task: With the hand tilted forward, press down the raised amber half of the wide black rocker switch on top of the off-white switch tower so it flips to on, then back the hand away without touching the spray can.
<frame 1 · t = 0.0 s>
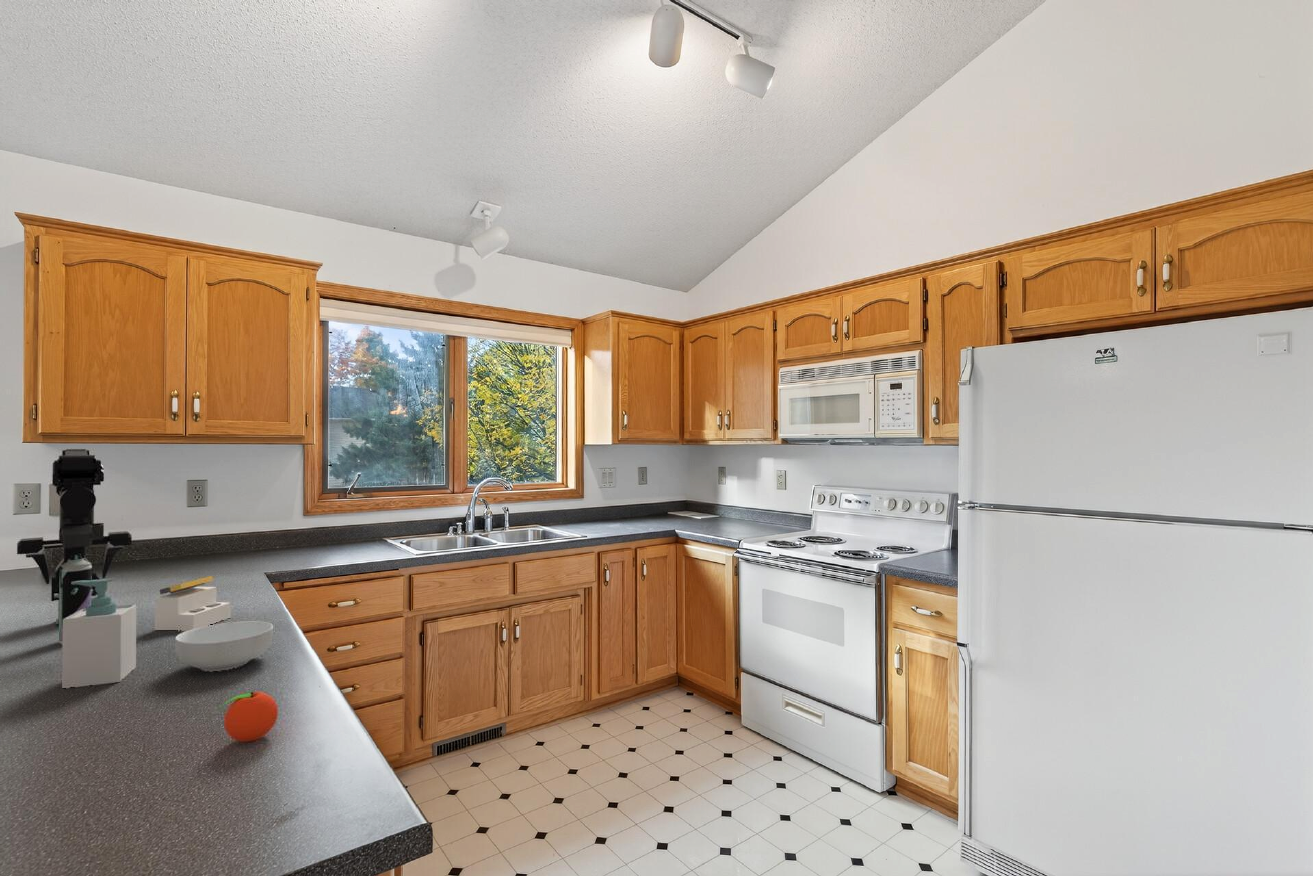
hand: (76, 580, 142), 15 cm above the counter, tool pointing down, fingers open, 9 cm apart
cereal bowl: (225, 666, 130), on the counter
clementine: (247, 741, 96), on the counter
soap bottle: (99, 679, 122), on the counter
spray can: (75, 641, 146), on the counter
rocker: (187, 585, 160), point 10 cm above the counter, hinge at -15.0°
switch tower: (194, 624, 160), on the counter
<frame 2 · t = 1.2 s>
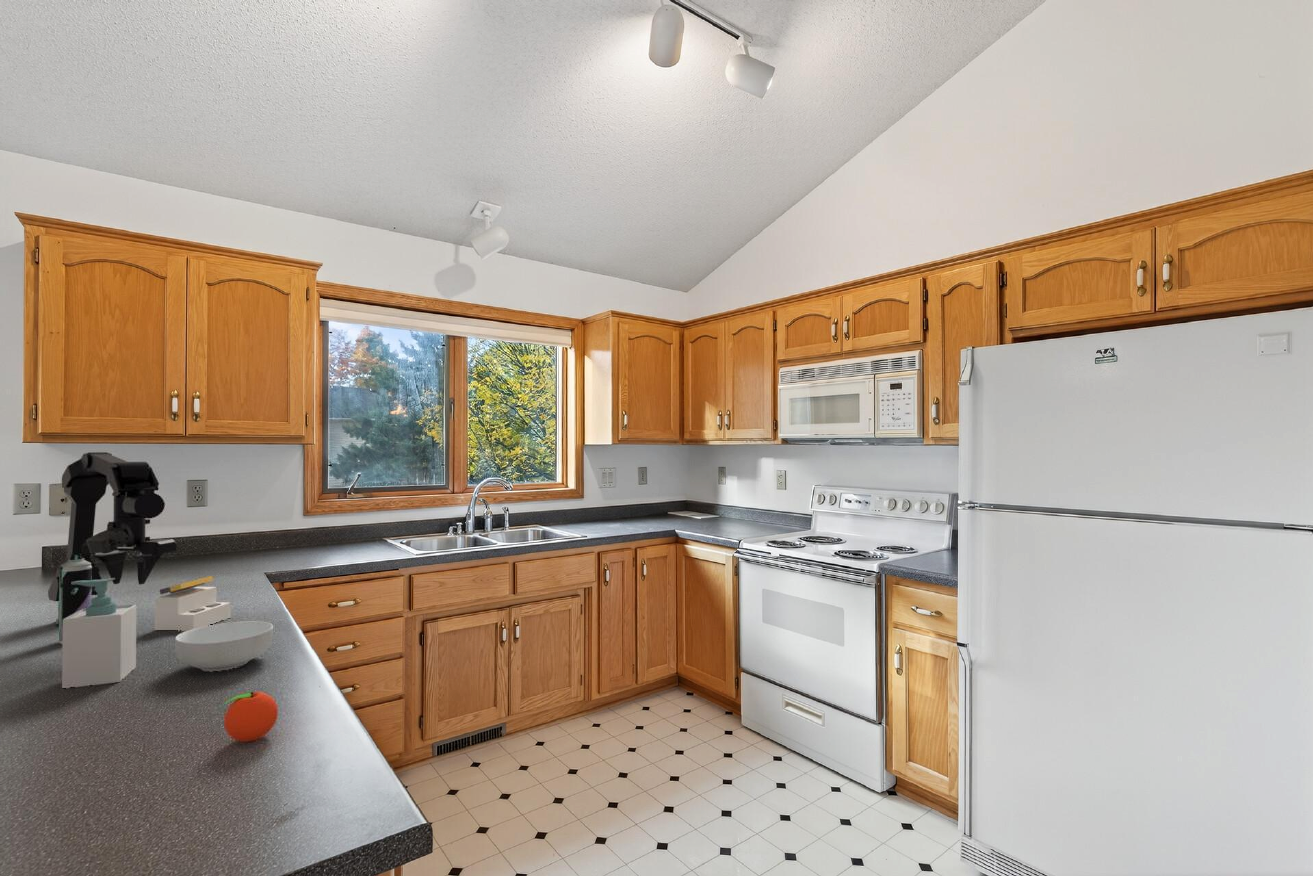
hand: (129, 584, 146), 13 cm above the counter, tool pointing down, fingers open, 6 cm apart
nothing on the counter moved.
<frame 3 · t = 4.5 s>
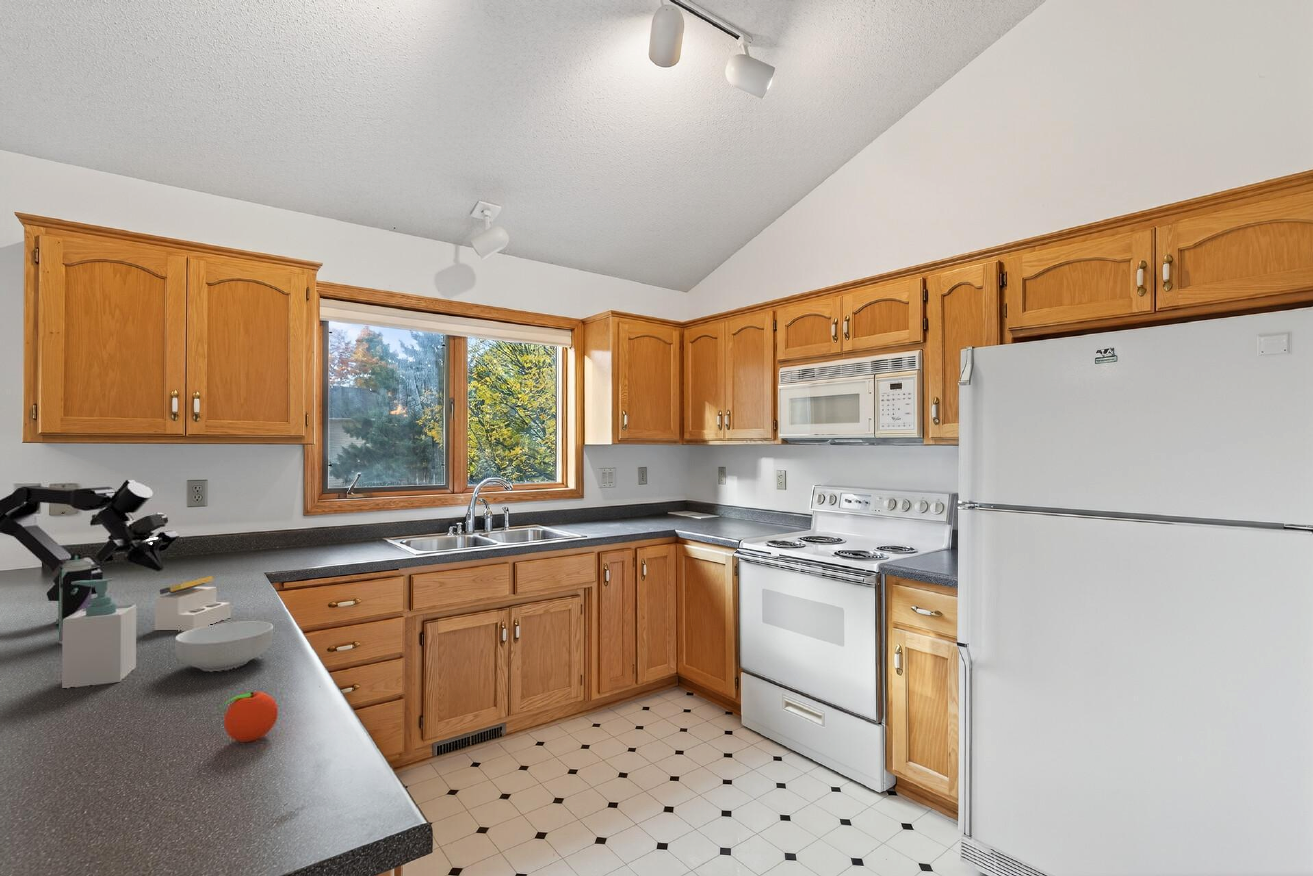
hand: (161, 569, 161), 14 cm above the counter, tool tilted 45°, fingers closed
nothing on the counter moved.
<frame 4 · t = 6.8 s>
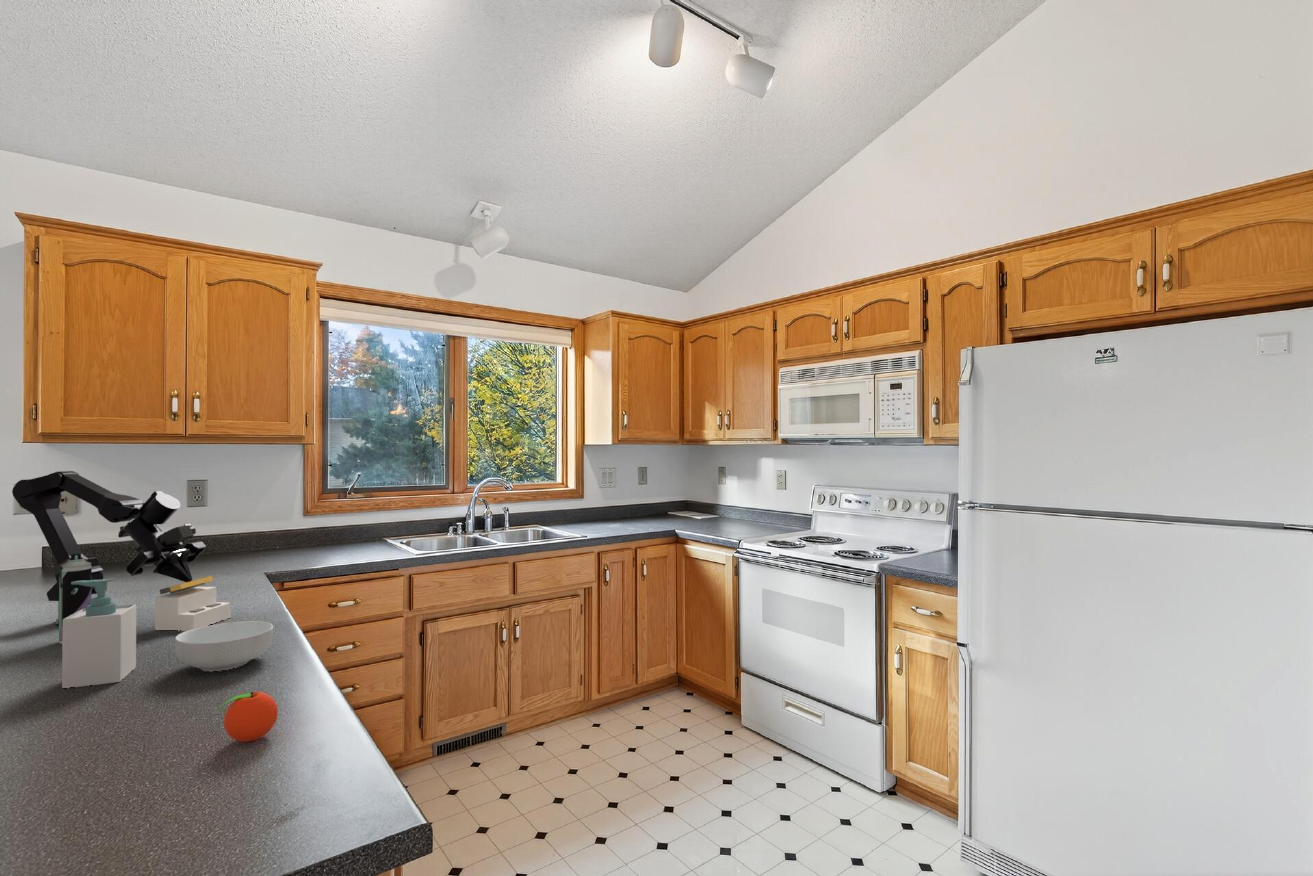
hand: (190, 581, 160), 11 cm above the counter, tool tilted 45°, fingers closed, pressing on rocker
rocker: (187, 585, 160), point 10 cm above the counter, hinge at -14.9°, touching gripper
everything else where it was.
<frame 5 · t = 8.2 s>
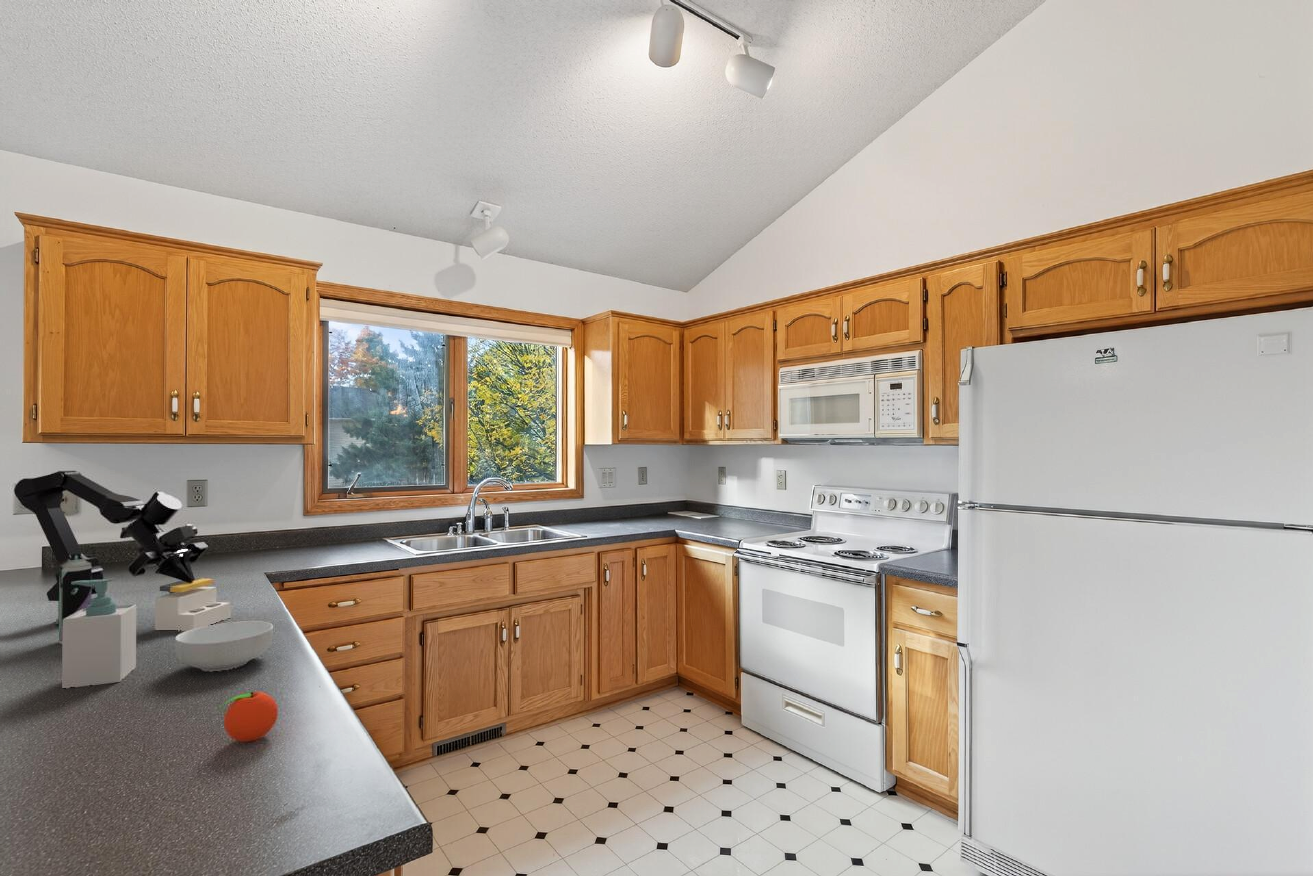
hand: (192, 581, 160), 11 cm above the counter, tool tilted 45°, fingers closed
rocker: (187, 585, 160), point 10 cm above the counter, hinge at 3.0°
everything else where it was.
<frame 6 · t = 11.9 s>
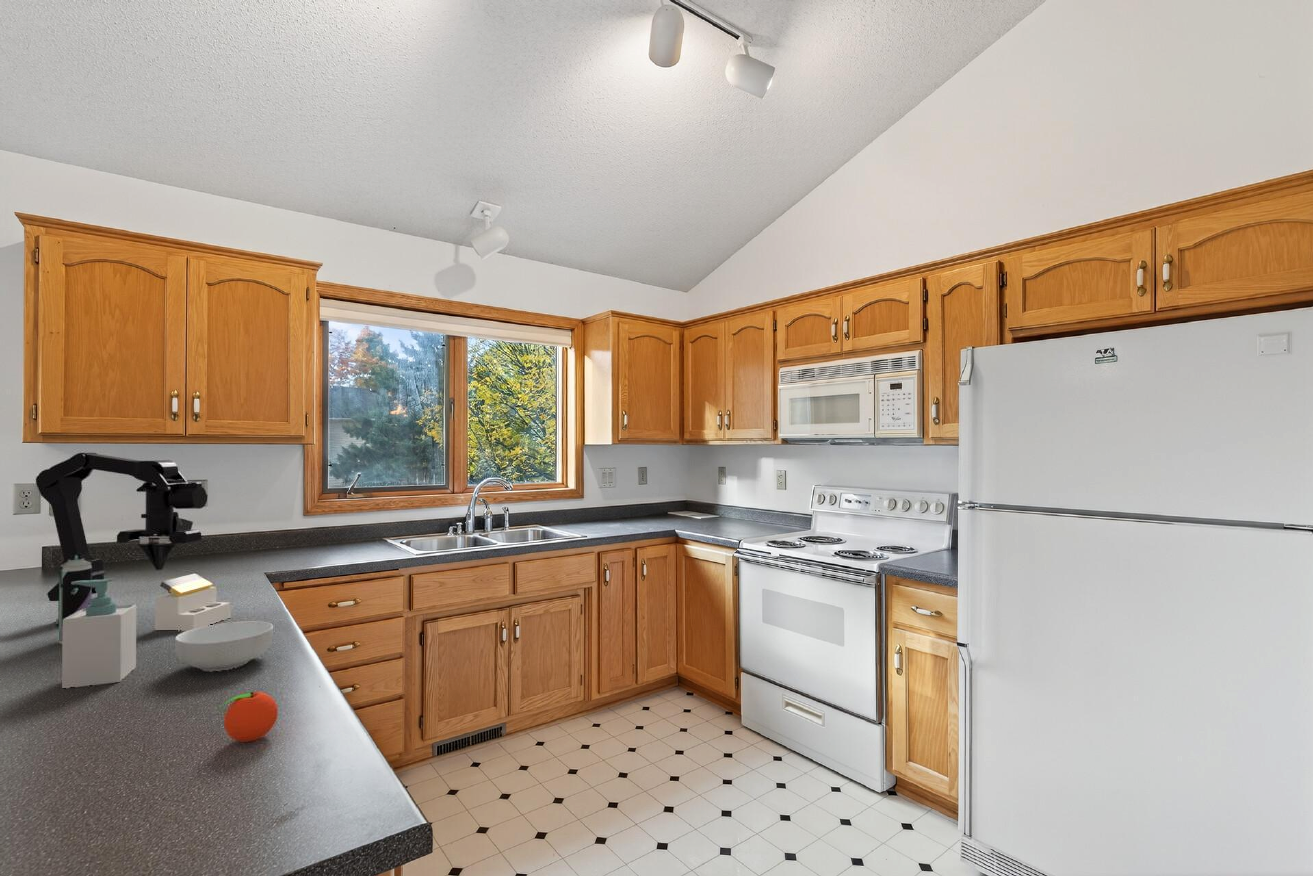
hand: (159, 569, 163), 13 cm above the counter, tool pointing down, fingers closed
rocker: (186, 585, 160), point 10 cm above the counter, hinge at 28.3°, touching switch tower
everything else where it was.
at the end: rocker at +27° (first picture: -15°); spray can moved 0.2 cm from its start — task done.
